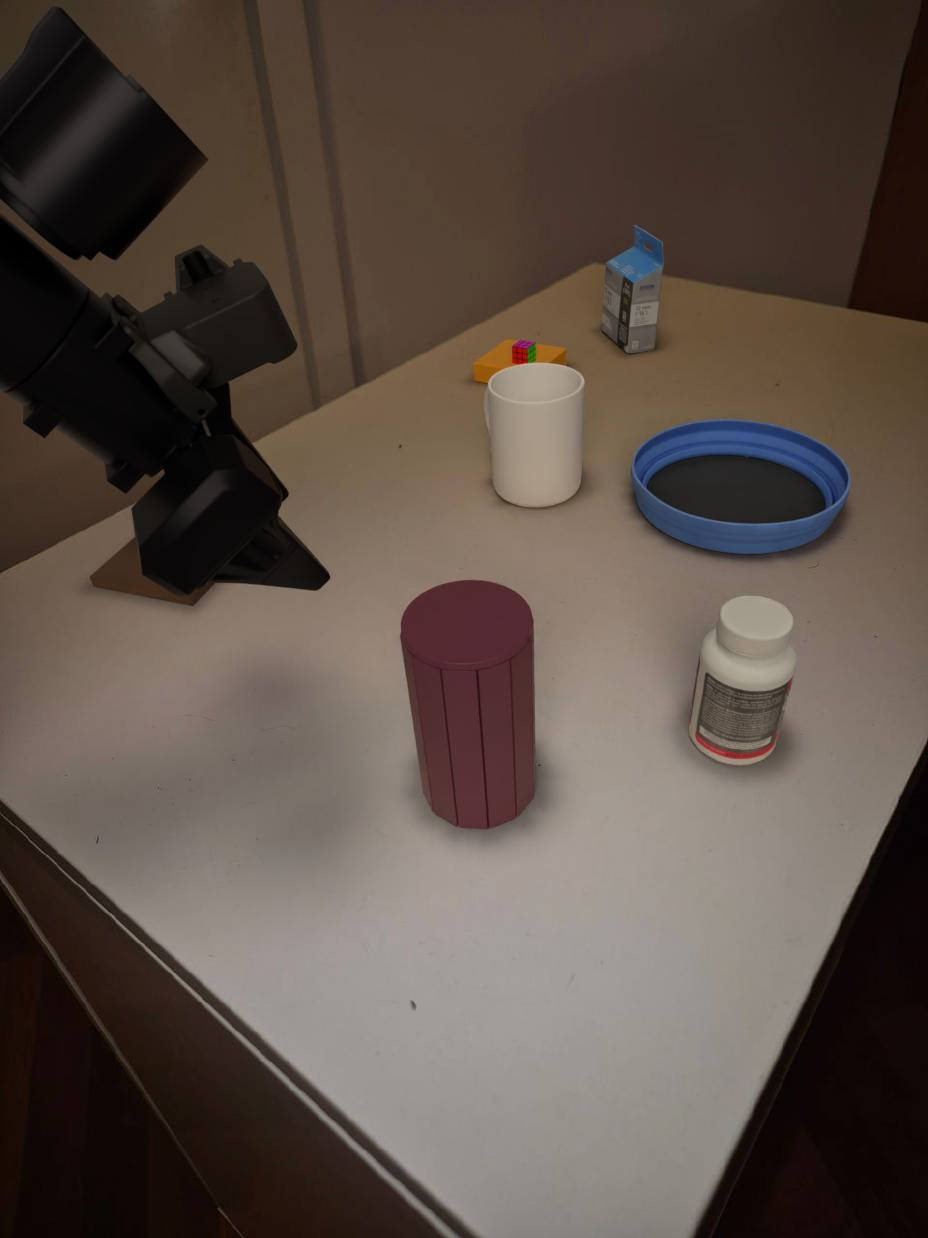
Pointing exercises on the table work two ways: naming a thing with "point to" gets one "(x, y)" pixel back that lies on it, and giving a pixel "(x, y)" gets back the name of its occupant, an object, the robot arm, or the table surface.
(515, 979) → the table surface
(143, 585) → the hat stand
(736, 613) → the pill bottle
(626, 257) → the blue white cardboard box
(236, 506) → the robot arm
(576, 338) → the table surface
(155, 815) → the table surface
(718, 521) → the bowl
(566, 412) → the mug
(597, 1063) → the table surface
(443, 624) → the maroon grooved cylinder
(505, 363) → the orange slab with cube
